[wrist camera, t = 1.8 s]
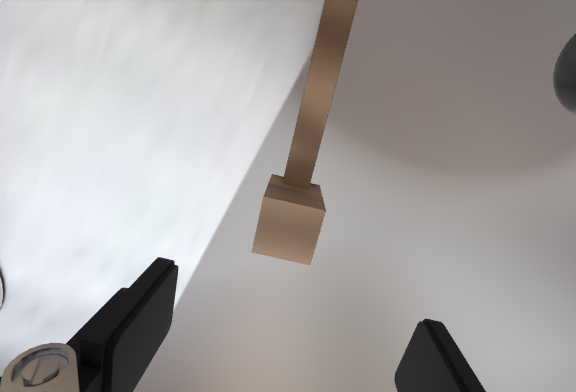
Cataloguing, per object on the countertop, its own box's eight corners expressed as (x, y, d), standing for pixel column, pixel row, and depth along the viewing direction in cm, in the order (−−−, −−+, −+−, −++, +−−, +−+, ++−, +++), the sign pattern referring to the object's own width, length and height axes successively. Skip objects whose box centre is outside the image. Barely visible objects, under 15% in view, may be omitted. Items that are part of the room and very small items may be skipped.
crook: (307, 228, 25) (310, 265, 20) (205, 205, 25) (177, 235, 19) (413, -161, 18) (469, -289, 12) (266, -202, 17) (250, -353, 11)
